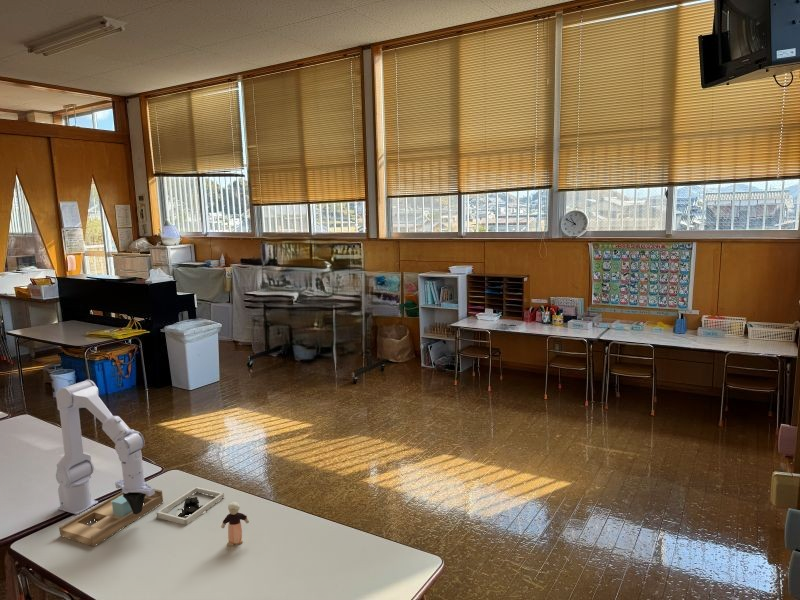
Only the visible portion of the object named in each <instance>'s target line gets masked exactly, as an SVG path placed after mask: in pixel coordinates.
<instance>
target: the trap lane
mask: <svg viewBox="0 0 800 600" xmlns="http://www.w3.org/2000/svg"><path fill="white" fill-rule="evenodd" d="M154 489H155V494H153V495H152V496H148V495H147V494H146V496H145V498H144V502H143V503H144V505H143V507H142V512H140V513H138V514H134V513H133V511H132V512H131V513H129V514H127V515H126V516H124V517H121V516H117V515H113V507H112V501H113V500H115V499H117V498H118V497H120V496H122V495H123V494H124V493H122V491H121V492H120V493H117V494H116V495H114V496H112V497H110V498H109V499H107V500H105V501H104V502H102V503H100V504H98V505H96V506H95V507H93V508H90V509H89V510H87V511H85V512H84V513H82V514H81V515H80V514H79V516H77V517H75V518H73V519H71V520H70V521H67V522H65V523H64V524H62V525H61V526H59V527H58V530H59V535H61V536H64V537H67V538H70V539H73V540H72V541H74V540H75V541H74V542H77V541H78V543H80V542H82V543H81V544H83V543H85V544H84V545H86V544H88V545H87V546H90V545H92V546H91V547H93V546H94V547H96V546H97V545H96V544H98V543H99V544H101V543H102V542H104V541H105V540H107V539H108V537H109V536H110V537H112V536H113V535H115V534H116V533H115V532H117V531H118V532H120V531H121V530H123V529H124V528H126V527H127V525H128V524H129V525H130V523H131V524H132V523H134V522H135V520H136V519H137V520H139V519H140V518H141V516H142V517H144V516H145V515H147V514H148V513H150V512H151V511H153V510H154V509H156V508H157V507H156V506H158V505H159V504H161V503H162V502H163V503H164V498H163V491H162V490H159V489H156V488H154ZM163 503H162V504H163ZM162 504H161V505H162ZM159 506H160V505H159ZM159 506H158V507H159ZM155 507H156V508H155ZM153 508H154V509H153ZM152 509H153V510H152ZM150 510H151V511H150ZM149 511H150V512H149ZM147 512H148V513H147ZM146 513H147V514H146ZM144 514H145V515H144ZM139 517H140V518H139ZM138 518H139V519H138ZM94 519H95V521H94ZM137 520H136V521H137ZM90 521H91V523H90ZM96 521H97V522H96ZM133 521H134V522H133ZM87 523H88V524H87ZM129 525H128V526H129ZM125 526H126V527H125ZM123 527H124V528H123ZM122 528H123V529H122ZM120 529H121V530H120ZM119 530H120V531H119ZM118 532H117V533H118ZM114 533H115V534H114ZM112 534H113V535H112ZM111 535H112V536H111ZM61 536H60V537H61ZM64 537H63V538H64ZM110 537H109V538H110ZM67 538H66V539H67ZM106 538H107V539H106ZM70 539H69V540H70ZM104 539H105V540H104ZM103 540H104V541H103ZM101 541H102V542H101ZM100 542H101V543H100ZM99 544H98V545H99ZM95 545H96V546H95Z"/></svg>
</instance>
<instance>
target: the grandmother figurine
mask: <svg viewBox="0 0 800 600" xmlns="http://www.w3.org/2000/svg"><path fill="white" fill-rule="evenodd" d="M240 508H241V506H240V504H239V503H238V502H236V501H232V502H230V503H229V504H228V506H227V510H228V511H229V513H228V514H227V515H226V516H225V518H224V519H223V520H222V524H221V526H220V527H221V529H225V528H226V525H227V524H228V527H227V531H228V532H227V535H228V536H227V537H228V538H227V539H228V541H227V543H226V547H231V546H233V545H241V544H243V543H244V541H243V529H242V528H243V527H242V521H244V522H245V524H249V523H250V520H249V519H248V515H247V514H244V513H242V512H239V510H240ZM241 520H242V521H241Z"/></svg>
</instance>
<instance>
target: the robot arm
mask: <svg viewBox="0 0 800 600" xmlns="http://www.w3.org/2000/svg"><path fill="white" fill-rule="evenodd" d="M55 398H56V405H57V410H58V411H59V416H60V417H59V418H60V427H61V434H62V443H63V444H62V445H63V453H64V455H63V457H61V459H60V460H59V461H58V462H57V464H56V472H55V480H56V481H57V483H58V484H59V485H58V489H57V492H58V493H57V494H58V500H59V506H58V507H57V510H60V511H63V512H67V513H71V514H74V515H80V514H81V513H82V512H84V511H86V510H87V509H91V507H93V506H94V505H96V504H99V501H98V500H94V499H93V498H92V492H91V485H90V479H91V478H92V476H91V475H92V474H93V473H94V471H95V466H94V463H93V461H92V456H91V454H89V453H88V452H84V446H83V438H82V429H81V428H82V427H81V419H80V411H79V410H80V409H82V408H83V409H84V408H85V409H86V410H88V411H89V412H90V413H91V414H92V415H93V416H94V417H95V418H97V420H98V421H99V422H101V424H102V427H101V430H102V431H103V432H104V433H105V434H106V436H108V438H109V439H111V441H112V442H113V443H114V444H115V446H114V449H115V452H116V453H117V455H118V460H119V461H120V462H121V469H122V470H121V471H122V477H123V478H122V479H123V480H122V479H119V480H118V481H116V482H115V489H117V490H118V489H122V490H121V492H122V493H124V494H123V497H124V498H125V499H126V500H127V501H128V503H129V505H130V507H131V509H132V511H133V513H134V514H138V513H140V512H142V507H143V502H144V498H145V496H146V494H147V495H148V496H152V495H153V494H155V489H156V488H155V487H152V486H151V485H150V484H149V483H147V482H146V481H145V473H144V466H143V465H144V464H143V456H142V449H143V448H144V447H145V442H146V441H145V438H144V436H143V434H142V433H141V432H140V431H138V430H135V429H133V428H132V429H131V428H130V427H129V426H128V425H127V424H126V422H125V421H124V420H123V419H122V418H121V417H120V415H113V413H112V412H111V411H110V410H109V408H108V407H107V406H106V404H105V403H104V402H103V400H102V399H101V398H100V396H99V388H98V387H97V385H96V383H95V382H94V380H91V379H85V380H84V381H80V382H77V383H74V384H71V385H67V386H64V387H60V388H58V390H57V391H56V392H55Z"/></svg>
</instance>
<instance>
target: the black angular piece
mask: <svg viewBox="0 0 800 600" xmlns="http://www.w3.org/2000/svg"><path fill="white" fill-rule="evenodd" d="M199 506H200V507H199ZM201 506H202V505H200V501H199V499H198V496H195V497H189V498H186V499H185V501H184V503H183V507H182V508H184V510H183V509H182V508H181V509H182V513H180V514H179V515H178V517H182V518H185V517H184V516H185V515H189V514H193V513H194V512H196V511H197V510H198V509H200V508H201ZM189 507H190V508H189Z"/></svg>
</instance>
